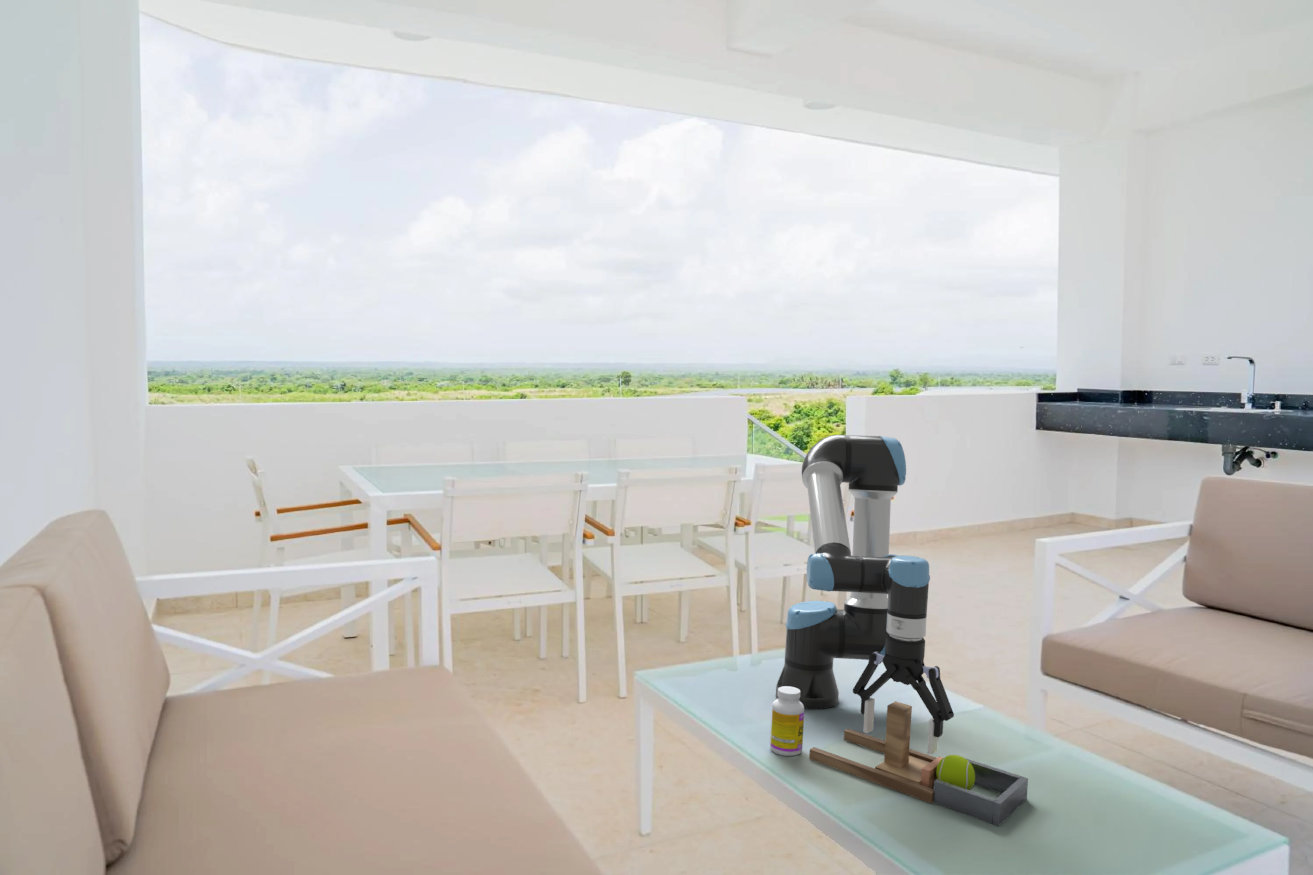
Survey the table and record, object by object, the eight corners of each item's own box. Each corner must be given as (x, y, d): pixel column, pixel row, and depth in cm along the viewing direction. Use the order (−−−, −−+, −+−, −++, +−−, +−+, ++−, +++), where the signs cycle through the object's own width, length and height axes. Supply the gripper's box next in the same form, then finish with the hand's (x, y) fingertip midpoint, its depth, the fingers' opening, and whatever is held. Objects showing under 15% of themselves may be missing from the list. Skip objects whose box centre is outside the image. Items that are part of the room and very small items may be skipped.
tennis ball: (976, 789, 164) (978, 754, 164) (970, 804, 158) (973, 767, 158) (938, 780, 168) (941, 745, 167) (931, 794, 162) (933, 758, 161)
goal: (963, 777, 169) (965, 757, 169) (1026, 798, 161) (1028, 778, 161) (932, 802, 159) (934, 781, 158) (998, 826, 151) (1000, 803, 150)
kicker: (898, 759, 176) (901, 696, 175) (947, 775, 169) (951, 711, 169) (874, 774, 169) (878, 709, 168) (925, 792, 162) (930, 724, 161)
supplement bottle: (801, 758, 175) (804, 697, 174) (768, 754, 176) (771, 693, 176) (802, 745, 182) (805, 686, 181) (771, 742, 183) (774, 682, 182)
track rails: (847, 737, 187) (847, 728, 187) (965, 776, 170) (965, 766, 170) (809, 758, 175) (809, 749, 175) (931, 803, 158) (932, 792, 158)
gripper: (839, 625, 175) (834, 727, 176) (959, 654, 158) (952, 766, 160) (857, 619, 180) (852, 718, 182) (975, 646, 164) (968, 755, 165)
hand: (899, 741), depth 171 cm, fingers open, 13 cm apart
